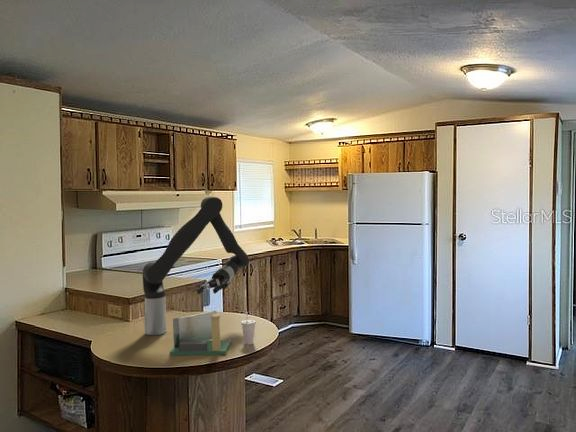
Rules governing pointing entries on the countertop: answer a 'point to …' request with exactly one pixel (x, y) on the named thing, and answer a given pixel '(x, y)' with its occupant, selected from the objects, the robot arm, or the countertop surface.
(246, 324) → the smoothie
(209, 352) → the bracket
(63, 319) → the countertop surface
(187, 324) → the white upright panel
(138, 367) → the countertop surface
